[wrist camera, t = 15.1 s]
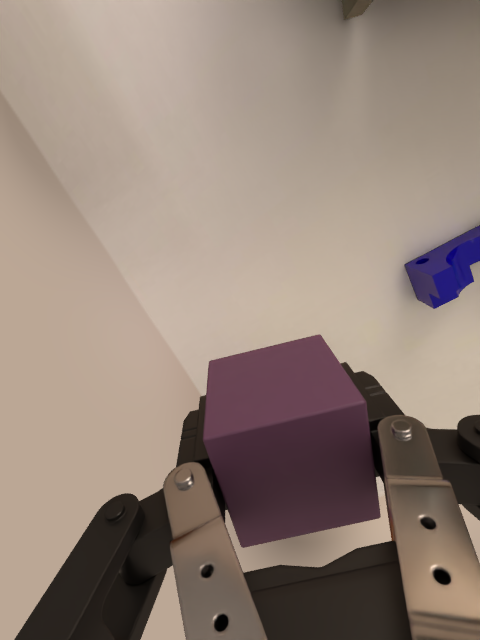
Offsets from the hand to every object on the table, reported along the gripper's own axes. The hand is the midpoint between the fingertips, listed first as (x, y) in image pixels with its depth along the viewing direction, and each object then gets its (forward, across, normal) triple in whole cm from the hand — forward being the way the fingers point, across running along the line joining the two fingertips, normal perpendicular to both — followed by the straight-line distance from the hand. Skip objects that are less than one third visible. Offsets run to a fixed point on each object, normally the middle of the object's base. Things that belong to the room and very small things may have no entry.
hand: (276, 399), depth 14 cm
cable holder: (+16, -18, +2) cm, 24 cm away
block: (0, 0, 0) cm, 0 cm away
